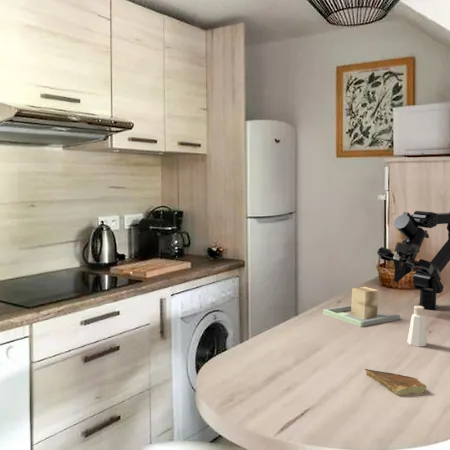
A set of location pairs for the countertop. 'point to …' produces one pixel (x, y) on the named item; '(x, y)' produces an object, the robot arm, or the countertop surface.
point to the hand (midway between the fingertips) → (395, 282)
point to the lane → (358, 321)
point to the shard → (397, 382)
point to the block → (364, 302)
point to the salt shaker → (417, 328)
